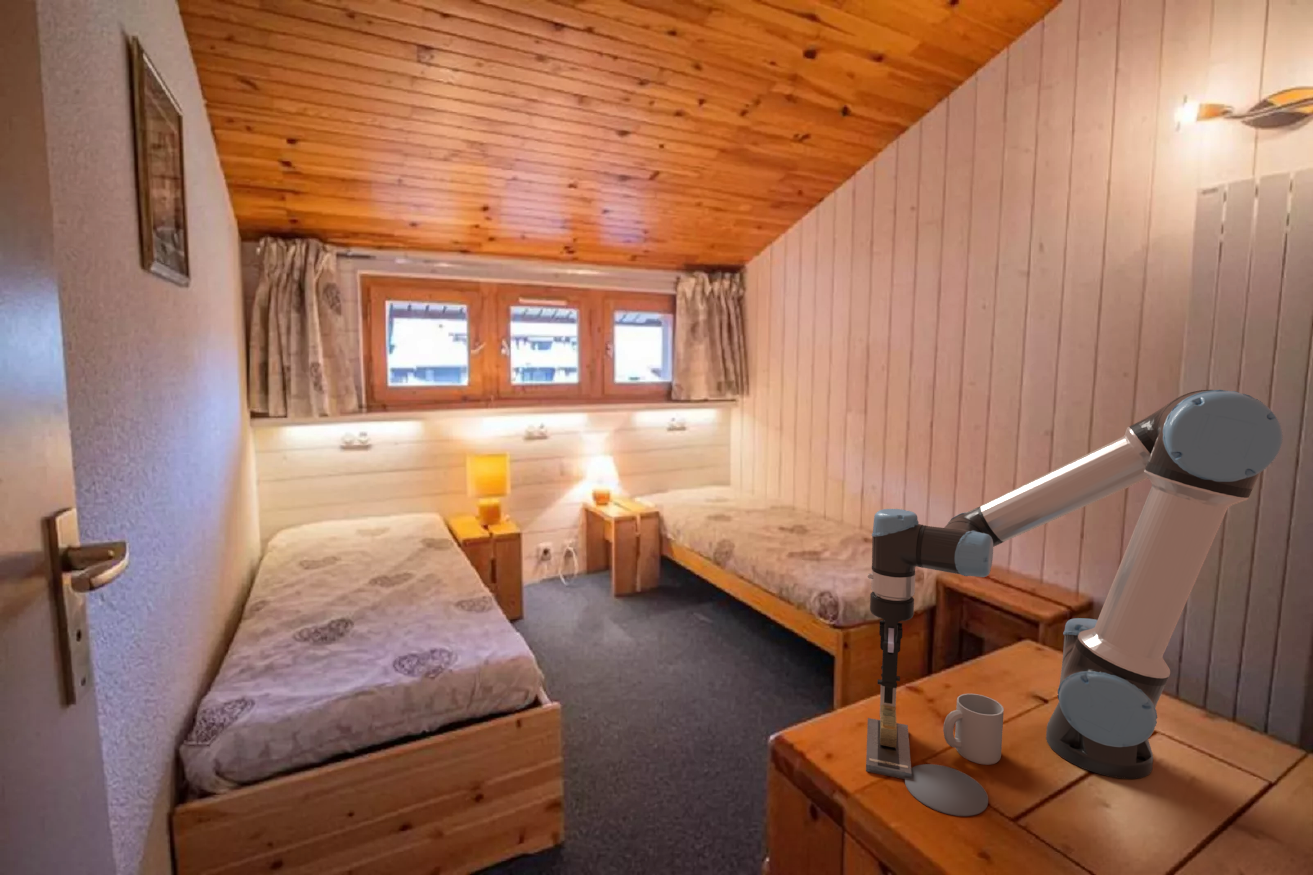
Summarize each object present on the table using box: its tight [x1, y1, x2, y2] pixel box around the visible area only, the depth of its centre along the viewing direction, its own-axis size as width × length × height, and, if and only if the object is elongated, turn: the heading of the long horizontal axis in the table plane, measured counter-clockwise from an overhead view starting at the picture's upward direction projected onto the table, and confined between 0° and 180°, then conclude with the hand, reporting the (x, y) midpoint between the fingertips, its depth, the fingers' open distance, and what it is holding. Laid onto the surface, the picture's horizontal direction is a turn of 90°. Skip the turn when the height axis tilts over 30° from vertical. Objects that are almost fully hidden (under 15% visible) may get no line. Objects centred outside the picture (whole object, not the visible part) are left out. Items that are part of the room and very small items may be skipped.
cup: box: [942, 693, 1005, 766], centre depth 107 cm, size 7×10×9 cm
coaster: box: [904, 763, 989, 817], centre depth 98 cm, size 12×12×1 cm
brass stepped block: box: [879, 705, 898, 748], centre depth 110 cm, size 3×8×5 cm, turn 160°
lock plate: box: [865, 717, 912, 780], centre depth 108 cm, size 7×15×1 cm, turn 160°
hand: (887, 715), depth 115 cm, fingers closed
